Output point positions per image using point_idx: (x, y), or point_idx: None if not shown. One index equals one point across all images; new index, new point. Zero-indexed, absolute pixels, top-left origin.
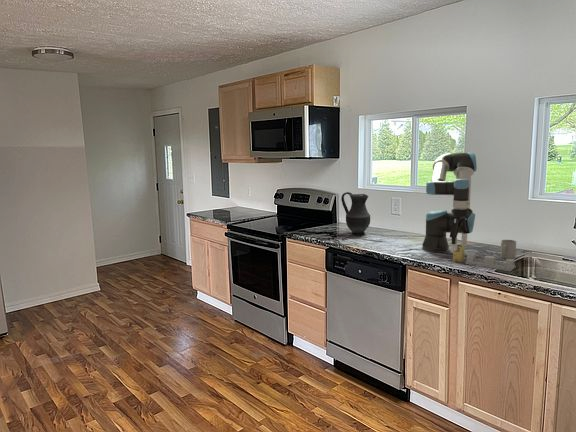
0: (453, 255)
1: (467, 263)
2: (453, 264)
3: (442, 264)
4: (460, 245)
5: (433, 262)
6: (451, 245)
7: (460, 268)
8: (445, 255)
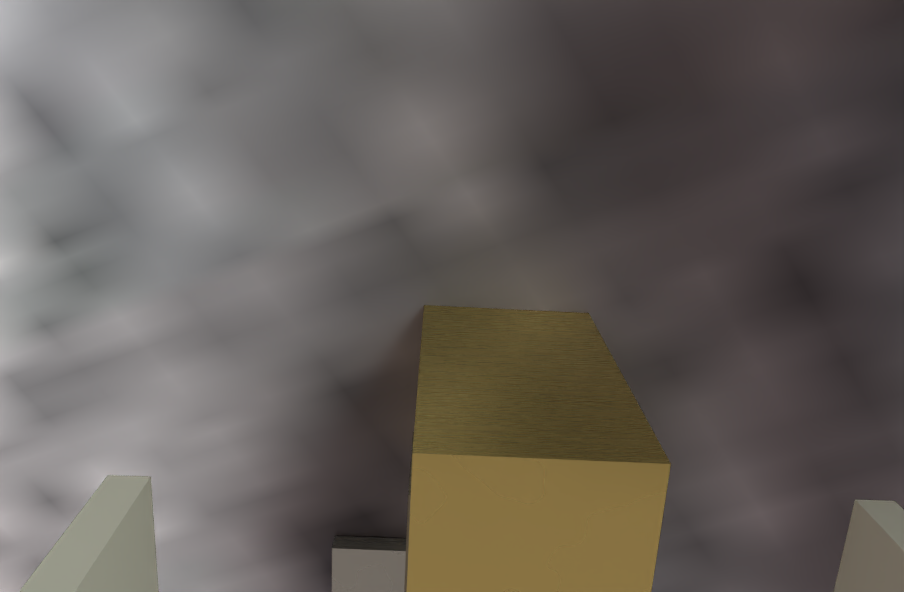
0: (420, 351)
1: (332, 584)
2: (177, 396)
3: (37, 232)
4: (623, 572)
5: (45, 18)
6: (48, 556)
7: (26, 559)
8: (757, 26)
